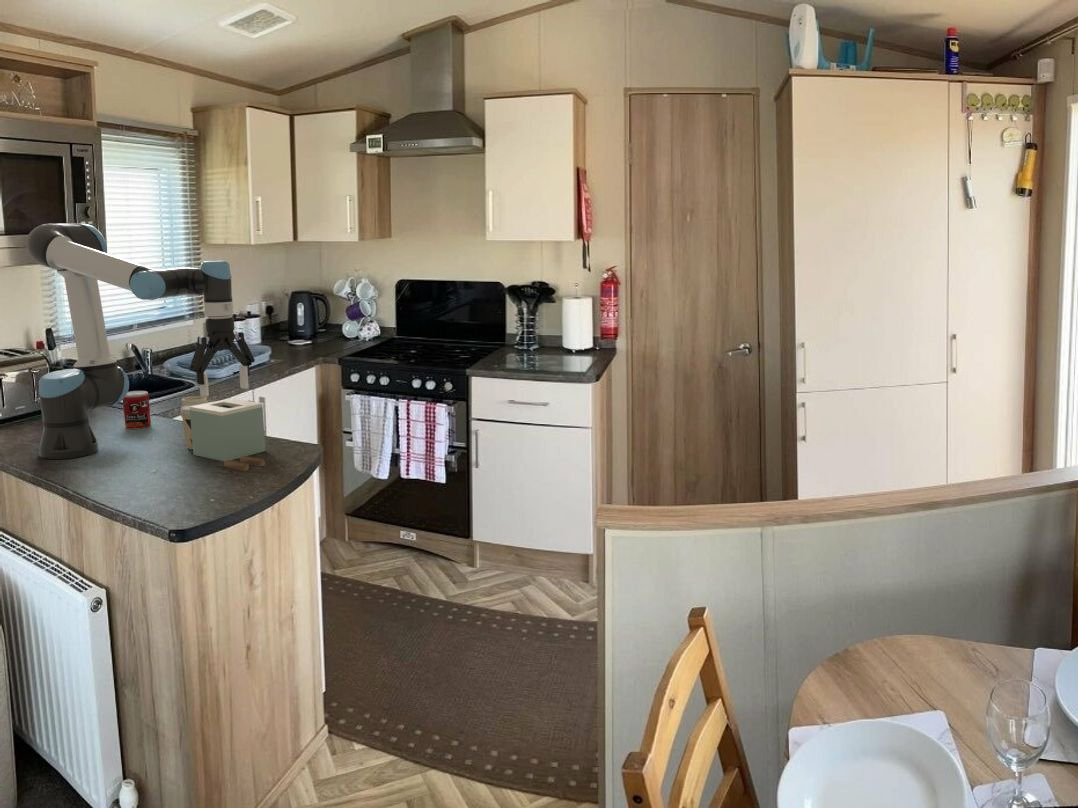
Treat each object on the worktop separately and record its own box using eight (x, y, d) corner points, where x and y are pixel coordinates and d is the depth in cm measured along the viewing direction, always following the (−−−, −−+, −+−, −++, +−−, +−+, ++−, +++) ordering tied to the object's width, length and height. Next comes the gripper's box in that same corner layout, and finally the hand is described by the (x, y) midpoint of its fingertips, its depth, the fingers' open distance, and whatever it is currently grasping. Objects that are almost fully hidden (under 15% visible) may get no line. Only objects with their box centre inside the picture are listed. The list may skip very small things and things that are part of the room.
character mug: (192, 445, 270) (189, 401, 268) (174, 443, 273) (171, 400, 271) (219, 437, 280) (216, 396, 278) (201, 436, 283) (198, 394, 281)
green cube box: (225, 461, 253) (221, 412, 250) (193, 454, 260) (189, 406, 258) (265, 450, 264) (262, 403, 262) (233, 444, 272) (230, 398, 269)
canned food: (123, 429, 291) (120, 396, 289) (127, 424, 299) (124, 391, 296) (149, 428, 293) (146, 394, 291) (152, 422, 301) (149, 390, 298)
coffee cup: (185, 451, 264) (182, 411, 261) (182, 444, 272) (179, 405, 269) (219, 448, 268) (216, 408, 265) (215, 441, 276) (212, 402, 273)
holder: (243, 471, 244) (243, 465, 243) (224, 466, 248) (223, 461, 248) (264, 465, 249) (264, 459, 249) (245, 460, 254) (244, 455, 253)
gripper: (189, 322, 242) (195, 400, 247) (264, 313, 263) (268, 386, 267) (171, 320, 246) (178, 397, 251) (247, 312, 267) (251, 383, 271)
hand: (225, 392), depth 259 cm, fingers open, 13 cm apart
